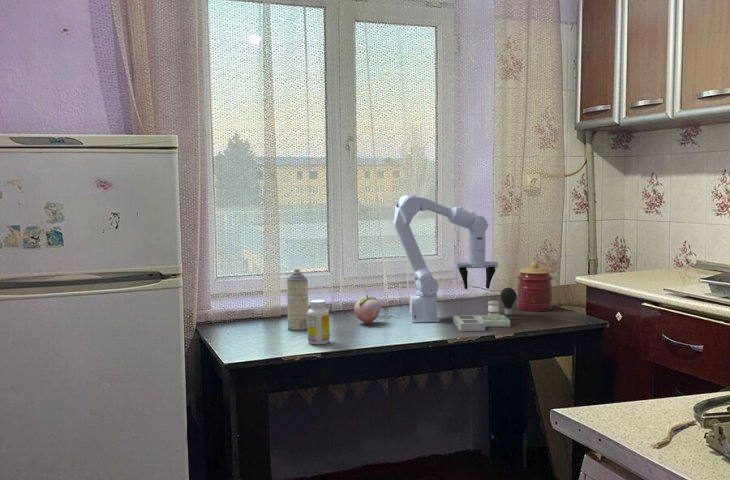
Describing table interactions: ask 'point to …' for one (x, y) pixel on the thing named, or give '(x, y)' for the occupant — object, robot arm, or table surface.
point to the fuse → (493, 310)
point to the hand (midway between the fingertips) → (476, 288)
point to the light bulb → (508, 299)
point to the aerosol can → (297, 301)
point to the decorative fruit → (367, 309)
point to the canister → (534, 288)
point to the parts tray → (495, 321)
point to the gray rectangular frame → (468, 323)
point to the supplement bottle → (318, 323)
